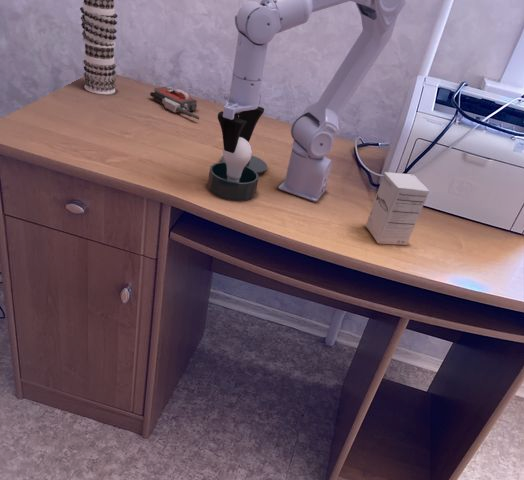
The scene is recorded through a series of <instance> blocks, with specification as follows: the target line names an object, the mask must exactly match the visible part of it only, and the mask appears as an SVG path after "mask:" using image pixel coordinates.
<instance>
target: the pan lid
mask: <svg viewBox="0 0 524 480" xmlns="http://www.w3.org/2000/svg"><path fill="white" fill-rule="evenodd" d="M251 149H252V150H253V148H252V147H251ZM220 162H225V160H224V156H223V155H222V156H221V158H220ZM246 166H247V167H249V168H251V169H253V170H254V171H255V172H256V173H257V174H258V175H261V174H264V173H266V171H267V170H268V165H267V163H266V162H265V161H264V160H262V159H261V158H260V157H258V156H255V155H252V156H251V159H250V161H249V162H248V164H247V165H246Z"/></svg>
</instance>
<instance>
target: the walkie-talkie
mask: <svg viewBox="0 0 524 480" xmlns="http://www.w3.org/2000/svg"><path fill="white" fill-rule="evenodd" d="M153 91H154V92H153ZM153 91H150V93H149V96H150V97H152V98H153V100H154V101H155V102H157V103H158V104H161V105H163V106H164V108H165V109H166V110H169V111H170V112H173V113H180V114H184V116H185V115H186V116H188V117H190V118H191V117H192V118H193V119H196V120H197V121H198V120H200V116H199V115H197V114H195V113H193V112H194V111H197V102H198V101H197V100H196V99H195V98H193V97H191V95H190V93H189V92H186V91H185V90H183V89H181V88H177V89H173V86H169V87H168V86H162V87H156V88H154V90H153Z"/></svg>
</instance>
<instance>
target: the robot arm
mask: <svg viewBox="0 0 524 480" xmlns="http://www.w3.org/2000/svg"><path fill="white" fill-rule="evenodd" d="M348 2H353V3H355V6H356V7H357V10H358V12H359V15H360V18H361V26H362V30H361V33H360V34H359V36H358V37H357V39H356V40H355V42H354V43H353V45H352V46H351V48H350V50H349V51H348V53H347V55H346V56H345V58H344V59H343V61H342V63H341V64H340V65H339V67H338V69H337V70H336V72H335V74H334V75H333V77H332V78H331V80H330V81H329V83H328V85H327V86H326V88H325V89H324V91H323V92H322V93H321V96H319V99H318V100H317V102H315V103H312V104H309V105H308V106H306V108H305V109H304V111H303V112H302V113H301V114H300V115H299V116H297V117H296V118H295V119H294V120H293V121H292V123H291V127H290V136H291V138H292V139H293V142H292V148H291V153H290V157H289V161H288V165H287V171H286V174H285V178H284V181H282V183H281V184H279V186H278V187H277V189H278V190H280V191H282V192H286V193H288V194H291V195H294V196H297V197H300V198H303V199H306V200H308V201H310V202H315V203H316V202H317V201H319V199H320V198H321V197H322V195H323V194H324V193H325V192H326V188H327V184H328V181H329V178H330V177H329V176H330V173H331V169H332V165H333V160H332V159H330V158H329V157H327V155H328V154H329V153H330V152H331V150H332V149H333V146H334V142H335V138H336V136H337V135H338V133H339V132H340V123H339V118H340V116H341V114H342V113H343V111H344V109H346V107H347V105H348V104H349V102H350V100H351V99H352V97H353V96H354V94H355V93H356V91H357V90H358V88H359V87H360V85H361V84H362V82H363V81H364V79H365V77H366V76H367V75H368V73H369V71H370V70H371V69H372V67H373V66H374V64H375V63H376V61H377V59H378V58H379V57H380V55H381V53H382V52H383V50H384V49H385V47H386V46H387V44H388V43H389V41H390V39H391V38H392V35H393V33H394V29H395V26H396V23H397V19H398V16H399V14H400V13H401V11H402V9H403V8H404V7H405V5H406V3H407V0H260V3H259V2H257V1H255V0H250V1H246V2H245V3H243V4H242V5H241V7H239V9H238V11H237V14H236V15H234V25H235V28H236V30H237V41H236V47H235V54H234V59H233V68H232V76H231V82H230V83H231V84H230V91H229V93H226V94H224V95H223V99H224V100H225V101H226V104H225V105H224V106H223V110H221V111H219V112H218V113H217V120H218V123H219V125H220V129H221V133H222V135H221V136H222V143H223V147H224V150H225V151H228V152H231V153H234V152H235V150H236V147H237V143H238V139H239V137H242V138H244V139H245V140H247V141H248V142H249V143H250V140H251V138H252V135H253V133H254V130H255V128H256V126H257V123H258V122H259V120H260V118H261V117H262V115H264V113H265V108H264V107H262V106H260V105H261V100H262V94H261V87H262V82H263V81H262V80H263V74H264V69H265V63H266V58H267V51H268V45H269V43H270V42H271V41H272V40H273V39H274V37H275V36H276V35H277V34H279V33H282V32H285V31H288V30H290V29H293V28H296V27H298V26H301V25H303V24H306V23H307V22H308V21H309V19H310V17H311V14H312V13H316V12H318V11H322V10H326V9H328V8H332V7H335V6H338V5H342V4H344V3H345V4H346V3H348Z"/></svg>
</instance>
